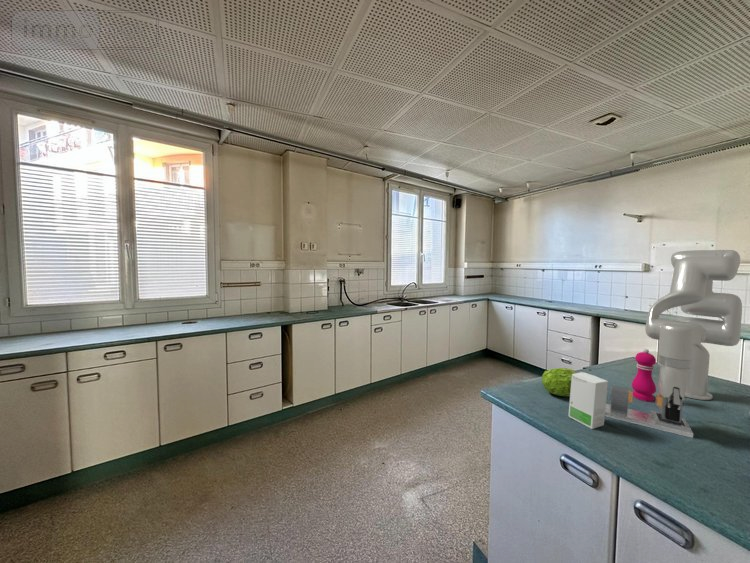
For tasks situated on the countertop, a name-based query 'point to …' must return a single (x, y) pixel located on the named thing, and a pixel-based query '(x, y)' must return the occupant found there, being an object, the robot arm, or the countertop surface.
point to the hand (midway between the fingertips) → (670, 416)
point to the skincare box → (588, 399)
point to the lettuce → (558, 381)
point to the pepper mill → (644, 377)
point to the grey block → (663, 403)
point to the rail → (640, 414)
